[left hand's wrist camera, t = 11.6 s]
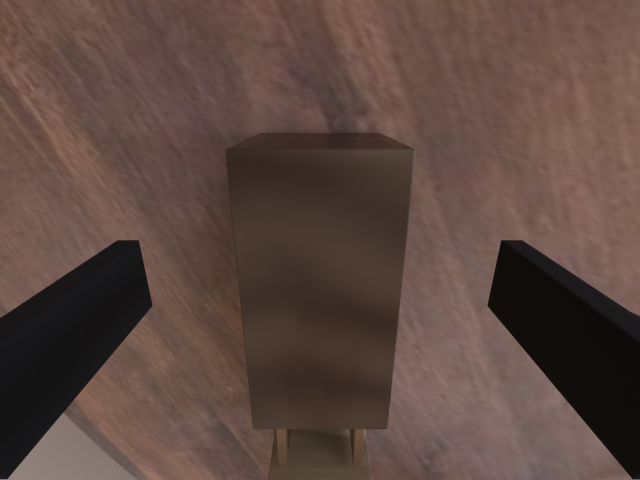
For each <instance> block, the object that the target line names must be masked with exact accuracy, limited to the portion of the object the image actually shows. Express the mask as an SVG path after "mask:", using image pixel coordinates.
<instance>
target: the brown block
mask: <svg viewBox="0 0 640 480" xmlns="http://www.w3.org/2000/svg"><path fill="white" fill-rule="evenodd" d="M414 159H415V149H413V148H411V147H409V146H406V145H404V144H402V143H400V142H398V141H396V140H393V139H391V138H389V137H387V136H385V135H383V134H329V133H260V134H258V135H256V136H254V137H252V138H250V139H247V140H245V141H243V142H241V143H239V144H237V145H235V146H233V147H230V148H228V149H226V161H227V171H228V181H229V191H230V201H231V211H232V221H233V231H234V241H235V251H236V261H237V271H238V281H239V291H240V301H241V311H242V321H243V331H244V342H245V352H246V362H247V372H248V382H249V392H250V402H251V412H252V422H253V429H387V426H388V416H389V406H390V397H391V387H392V377H393V367H394V357H395V347H396V337H397V327H398V318H399V308H400V298H401V288H402V278H403V268H404V258H405V248H406V239H407V229H408V219H409V209H410V199H411V189H412V179H413V169H414Z"/></svg>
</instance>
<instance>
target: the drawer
mask: <svg viewBox="0 0 640 480" xmlns="http://www.w3.org/2000/svg"><path fill="white" fill-rule="evenodd" d="M268 480H372V477H371V470H370V462H369V455H368V448H367V441H366V434H365V429H275V435H274V443H273V450H272V457H271V464H270V472H269V479H268Z"/></svg>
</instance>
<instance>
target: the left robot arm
mask: <svg viewBox="0 0 640 480" xmlns="http://www.w3.org/2000/svg"><path fill="white" fill-rule="evenodd" d="M151 307H152V301H151V297H150V292H149V287H148V282H147V278H146V273H145V268H144V263H143V259H142V254H141V249H140V244H139V240H117V241H116V242H114V243H113V244H111V245H110V246H108V247H107V248H105V249H104V250H102V251H101V252H99V253H98V254H96V255H95V256H93V257H92V258H90V259H89V260H87V261H86V262H84V263H83V264H81V265H80V266H78V267H77V268H75V269H74V270H72V271H71V272H69V273H68V274H66V275H65V276H63V277H62V278H60V279H59V280H57V281H56V282H54V283H53V284H51V285H50V286H48V287H47V288H45V289H44V290H42V291H41V292H39V293H38V294H36V295H35V296H33V297H32V298H30V299H29V300H27V301H25V302H24V303H22V304H21V305H19V306H18V307H16V308H15V309H13V310H12V311H10V312H9V313H7V314H6V315H4V316H3V317H1V318H0V479H8V478H9V476H10V475H11V474H12V473H13V472H14V470H15V469H16V468H17V467H18V466H19V464H20V463H21V462H22V461H23V460H24V459H25V457H26V456H27V455H28V454H29V453H30V451H31V450H32V449H33V448H34V447H35V445H36V444H37V443H38V442H39V441H40V439H41V438H42V437H43V436H44V435H45V433H46V432H47V431H48V430H49V429H50V427H51V426H52V425H53V424H54V423H55V422H56V420H57V419H58V418H59V417H60V416H61V414H62V413H63V412H64V411H65V410H66V408H67V407H68V406H69V405H70V404H71V402H72V401H73V400H74V399H75V398H76V396H77V395H78V394H79V393H80V392H81V391H82V389H83V388H84V387H85V386H86V385H87V383H88V382H89V381H90V380H91V379H92V377H93V376H94V375H95V374H96V373H97V371H98V370H99V369H100V368H101V367H102V365H103V364H104V363H105V362H106V361H107V360H108V358H109V357H110V356H111V355H112V354H113V352H114V351H115V350H116V349H117V348H118V346H119V345H120V344H121V343H122V342H123V340H124V339H125V338H126V337H127V336H128V334H129V333H130V332H131V331H132V330H133V329H134V327H135V326H136V325H137V324H138V323H139V321H140V320H141V319H142V318H143V317H144V315H145V314H146V313H147V312H148V311H149V309H150V308H151ZM488 307H489V308H490V309H491V311H492V312H493V313H494V314H495V315H496V317H497V318H498V319H499V320H500V321H501V323H502V324H503V325H504V326H505V327H506V329H507V330H508V331H509V332H510V333H511V334H512V336H513V337H514V338H515V339H516V340H517V342H518V343H519V344H520V345H521V346H522V348H523V349H524V350H525V351H526V352H527V354H528V355H529V356H530V357H531V358H532V360H533V361H534V362H535V363H536V364H537V365H538V367H539V368H540V369H541V370H542V371H543V373H544V374H545V375H546V376H547V377H548V379H549V380H550V381H551V382H552V383H553V385H554V386H555V387H556V388H557V389H558V391H559V392H560V393H561V394H562V395H563V396H564V398H565V399H566V400H567V401H568V402H569V404H570V405H571V406H572V407H573V408H574V410H575V411H576V412H577V413H578V414H579V416H580V417H581V418H582V419H583V420H584V422H585V423H586V424H587V425H588V426H589V427H590V429H591V430H592V431H593V432H594V433H595V435H596V436H597V437H598V438H599V439H600V441H601V442H602V443H603V444H604V445H605V447H606V448H607V449H608V450H609V451H610V453H611V454H612V455H613V456H614V457H615V459H616V460H617V461H618V462H619V463H620V464H621V466H622V467H623V468H624V469H625V470H626V472H627V473H628V474H629V475H630V476H631V478H632V479H640V316H638V315H636V314H634V313H632V312H630V311H628V310H627V309H625V308H624V307H622V306H621V305H619V304H618V303H616V302H615V301H613V300H611V299H610V298H608V297H607V296H605V295H604V294H602V293H601V292H599V291H598V290H596V289H595V288H593V287H592V286H590V285H589V284H587V283H586V282H584V281H583V280H581V279H580V278H578V277H577V276H575V275H574V274H572V273H571V272H569V271H568V270H566V269H565V268H563V267H562V266H560V265H559V264H557V263H556V262H554V261H553V260H551V259H550V258H548V257H547V256H545V255H544V254H542V253H541V252H539V251H538V250H536V249H535V248H533V247H532V246H530V245H529V244H527V243H526V242H524V241H523V240H501V244H500V249H499V254H498V259H497V263H496V268H495V273H494V278H493V282H492V287H491V292H490V297H489V301H488Z"/></svg>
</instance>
